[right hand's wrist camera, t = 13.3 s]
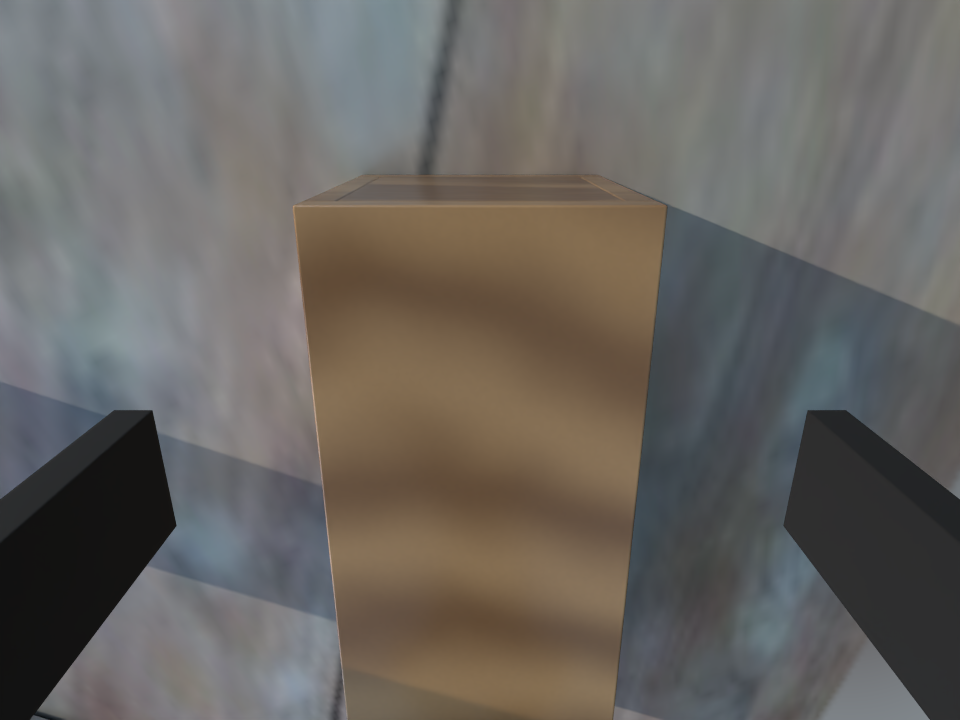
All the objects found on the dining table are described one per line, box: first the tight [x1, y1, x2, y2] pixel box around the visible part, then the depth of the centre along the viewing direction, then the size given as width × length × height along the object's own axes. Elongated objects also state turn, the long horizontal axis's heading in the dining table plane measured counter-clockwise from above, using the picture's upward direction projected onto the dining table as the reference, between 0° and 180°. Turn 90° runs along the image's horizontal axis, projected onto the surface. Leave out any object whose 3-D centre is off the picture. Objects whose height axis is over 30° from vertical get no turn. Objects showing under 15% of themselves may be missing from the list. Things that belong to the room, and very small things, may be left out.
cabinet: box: [293, 175, 667, 720], centre depth 27 cm, size 21×11×11 cm, turn 0°
